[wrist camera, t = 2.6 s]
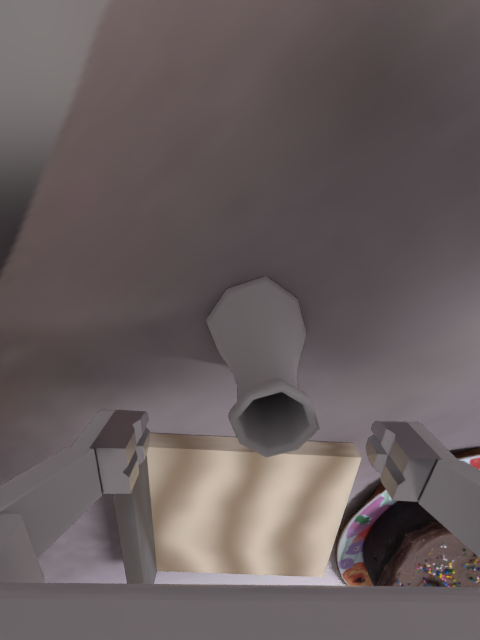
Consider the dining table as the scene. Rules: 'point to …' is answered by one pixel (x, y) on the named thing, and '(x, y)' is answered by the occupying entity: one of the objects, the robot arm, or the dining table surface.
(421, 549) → the chocolate cake
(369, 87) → the dining table surface
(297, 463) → the shelf board
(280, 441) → the flask
